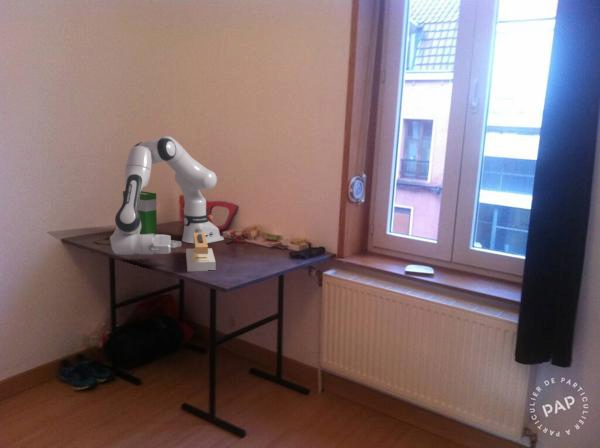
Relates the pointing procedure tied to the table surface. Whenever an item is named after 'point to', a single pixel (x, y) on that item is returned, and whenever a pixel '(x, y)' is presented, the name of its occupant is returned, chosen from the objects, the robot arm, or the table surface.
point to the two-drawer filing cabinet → (200, 260)
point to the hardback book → (147, 212)
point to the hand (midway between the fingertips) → (181, 243)
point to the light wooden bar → (200, 242)
